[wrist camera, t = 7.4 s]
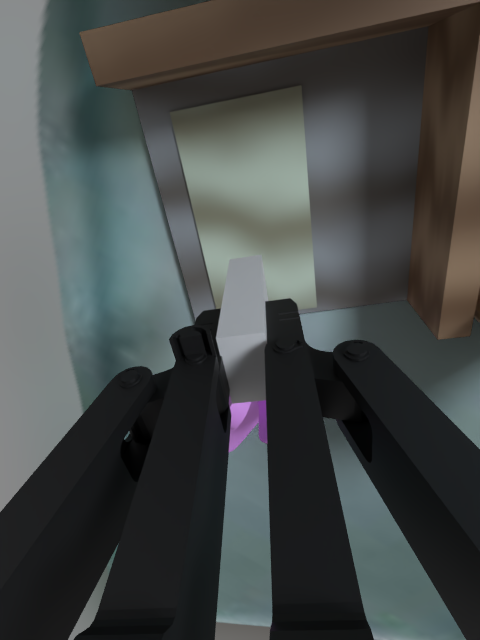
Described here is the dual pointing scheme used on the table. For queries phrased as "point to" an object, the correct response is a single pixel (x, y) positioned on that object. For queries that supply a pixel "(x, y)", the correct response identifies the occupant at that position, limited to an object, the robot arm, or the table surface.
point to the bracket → (247, 421)
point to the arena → (314, 146)
